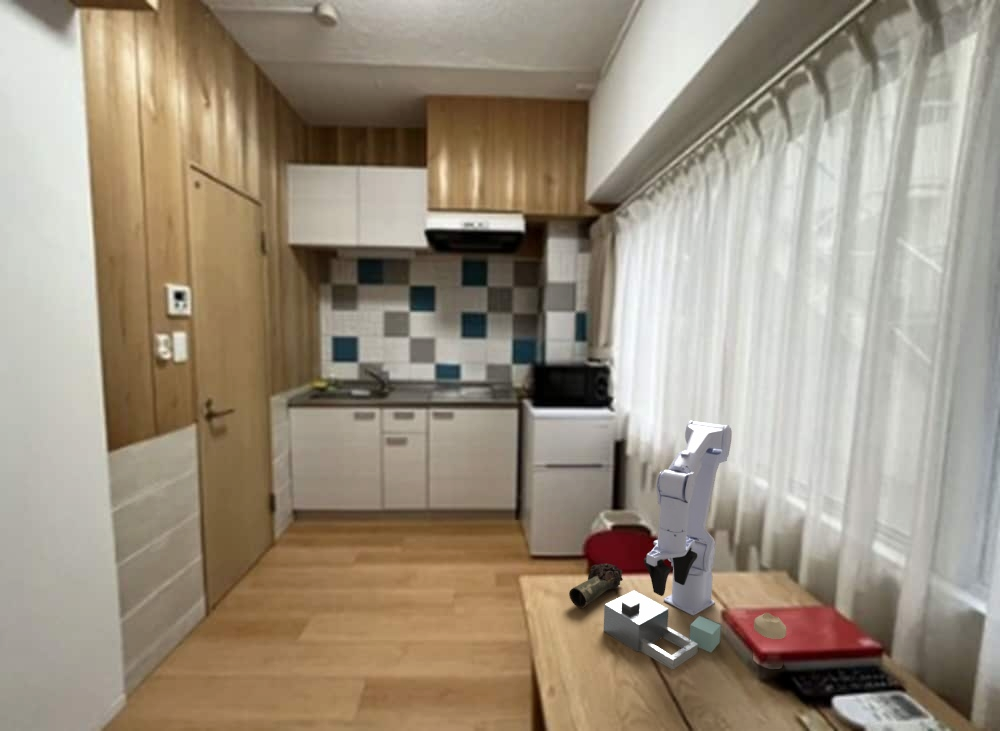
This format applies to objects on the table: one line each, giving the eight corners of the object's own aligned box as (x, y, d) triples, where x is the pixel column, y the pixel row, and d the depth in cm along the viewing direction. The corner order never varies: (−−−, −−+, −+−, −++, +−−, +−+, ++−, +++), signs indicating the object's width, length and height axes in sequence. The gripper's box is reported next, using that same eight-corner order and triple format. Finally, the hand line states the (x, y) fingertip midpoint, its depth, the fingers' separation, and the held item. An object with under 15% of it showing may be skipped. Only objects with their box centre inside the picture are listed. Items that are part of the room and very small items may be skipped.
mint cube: (689, 645, 106) (698, 635, 109) (710, 655, 103) (720, 644, 106) (690, 624, 105) (700, 615, 109) (712, 634, 102) (721, 624, 106)
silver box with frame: (641, 611, 118) (642, 579, 117) (707, 648, 105) (709, 613, 104) (603, 630, 110) (605, 597, 109) (669, 673, 97) (671, 636, 96)
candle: (746, 655, 103) (750, 608, 102) (774, 656, 103) (777, 609, 102) (759, 674, 97) (763, 624, 96) (788, 675, 97) (792, 626, 96)
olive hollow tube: (585, 612, 116) (587, 588, 115) (561, 599, 120) (563, 576, 120) (625, 586, 128) (627, 565, 128) (603, 576, 133) (604, 555, 133)
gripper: (676, 513, 115) (672, 571, 117) (635, 528, 107) (632, 590, 108) (704, 524, 110) (701, 584, 111) (664, 540, 101) (661, 605, 102)
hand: (669, 588), depth 109 cm, fingers open, 7 cm apart
